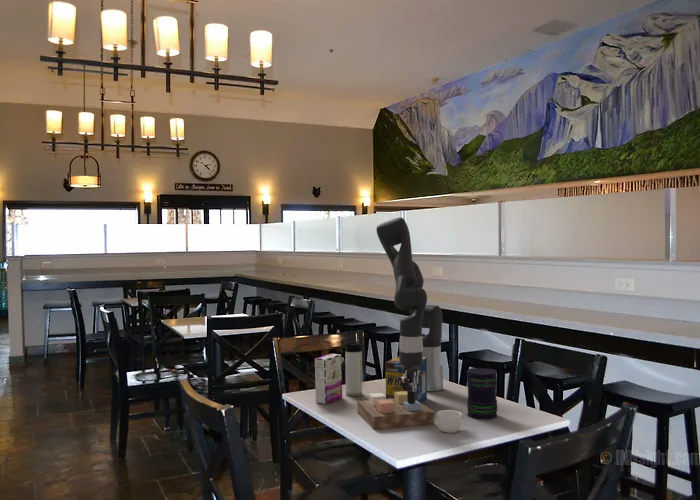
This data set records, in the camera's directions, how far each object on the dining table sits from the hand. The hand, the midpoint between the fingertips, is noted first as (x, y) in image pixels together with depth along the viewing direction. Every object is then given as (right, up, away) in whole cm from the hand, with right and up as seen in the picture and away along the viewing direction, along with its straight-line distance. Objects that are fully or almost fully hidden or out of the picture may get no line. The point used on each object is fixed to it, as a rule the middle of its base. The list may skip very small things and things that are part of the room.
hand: (411, 402), depth 195 cm
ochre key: (-2, -3, +9) cm, 9 cm away
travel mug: (-19, -6, +36) cm, 41 cm away
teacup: (+11, -6, -10) cm, 16 cm away
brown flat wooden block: (-5, -6, +3) cm, 9 cm away
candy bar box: (-28, -6, +28) cm, 40 cm away
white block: (-11, -3, +7) cm, 13 cm away
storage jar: (+24, -6, +5) cm, 25 cm away
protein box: (+1, -6, +24) cm, 25 cm away
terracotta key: (-9, -3, -2) cm, 9 cm away
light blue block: (0, -4, 0) cm, 4 cm away
